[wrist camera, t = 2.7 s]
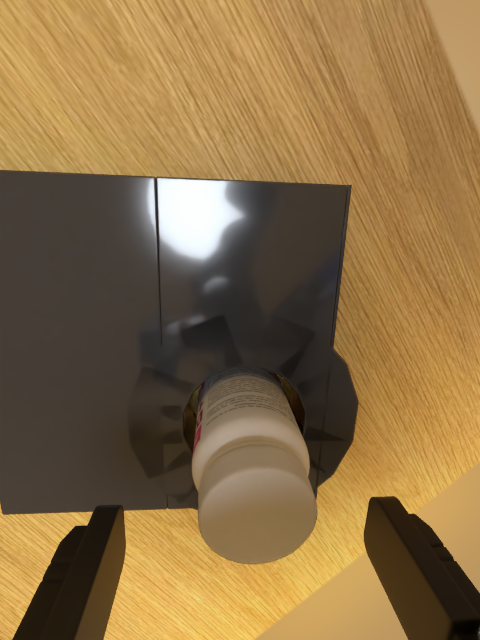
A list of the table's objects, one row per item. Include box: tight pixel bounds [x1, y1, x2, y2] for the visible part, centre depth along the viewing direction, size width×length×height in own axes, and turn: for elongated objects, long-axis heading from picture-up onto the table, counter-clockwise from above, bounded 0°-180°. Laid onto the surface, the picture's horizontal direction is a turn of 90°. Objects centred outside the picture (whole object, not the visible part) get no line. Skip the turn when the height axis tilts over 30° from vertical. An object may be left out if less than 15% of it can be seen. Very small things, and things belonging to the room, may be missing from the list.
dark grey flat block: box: [0, 170, 358, 515], centre depth 16 cm, size 18×17×3 cm
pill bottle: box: [192, 367, 317, 564], centre depth 15 cm, size 5×5×8 cm
